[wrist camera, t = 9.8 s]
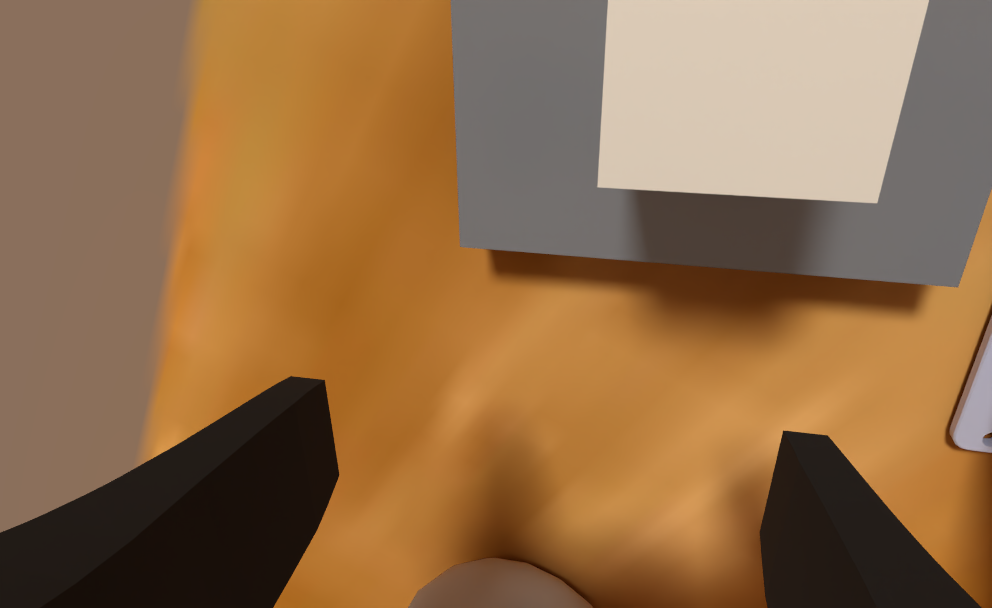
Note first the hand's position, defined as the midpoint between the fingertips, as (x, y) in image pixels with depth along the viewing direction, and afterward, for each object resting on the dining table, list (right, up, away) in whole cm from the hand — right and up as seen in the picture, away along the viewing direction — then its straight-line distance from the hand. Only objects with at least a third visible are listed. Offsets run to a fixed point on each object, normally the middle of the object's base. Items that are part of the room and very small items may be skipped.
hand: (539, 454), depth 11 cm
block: (+4, +9, +4) cm, 10 cm away
